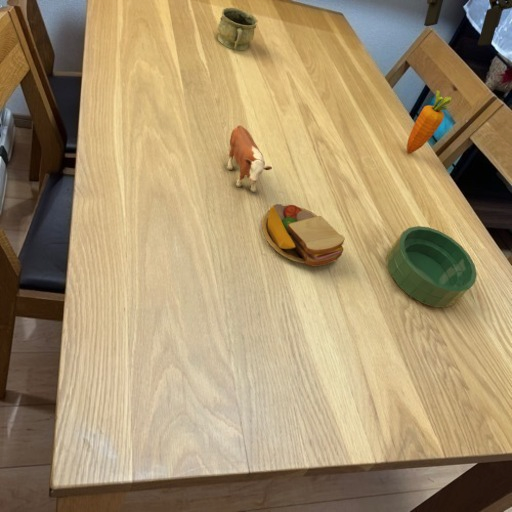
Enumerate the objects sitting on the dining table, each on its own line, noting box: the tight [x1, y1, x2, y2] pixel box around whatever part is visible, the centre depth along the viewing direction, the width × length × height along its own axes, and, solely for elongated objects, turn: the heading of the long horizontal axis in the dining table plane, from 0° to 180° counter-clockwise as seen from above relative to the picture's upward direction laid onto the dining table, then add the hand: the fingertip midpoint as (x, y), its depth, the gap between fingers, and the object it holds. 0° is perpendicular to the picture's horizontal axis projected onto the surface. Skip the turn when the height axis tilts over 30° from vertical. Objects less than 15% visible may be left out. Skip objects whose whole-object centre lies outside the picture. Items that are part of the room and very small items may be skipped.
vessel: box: [217, 7, 258, 51], centre depth 117 cm, size 12×9×6 cm
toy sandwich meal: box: [261, 203, 346, 267], centre depth 78 cm, size 12×14×5 cm
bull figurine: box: [226, 124, 273, 193], centre depth 83 cm, size 4×13×8 cm, turn 15°
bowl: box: [386, 225, 478, 308], centre depth 81 cm, size 14×14×5 cm
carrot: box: [406, 90, 453, 155], centre depth 103 cm, size 5×5×15 cm
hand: (458, 35), depth 92 cm, fingers open, 13 cm apart
